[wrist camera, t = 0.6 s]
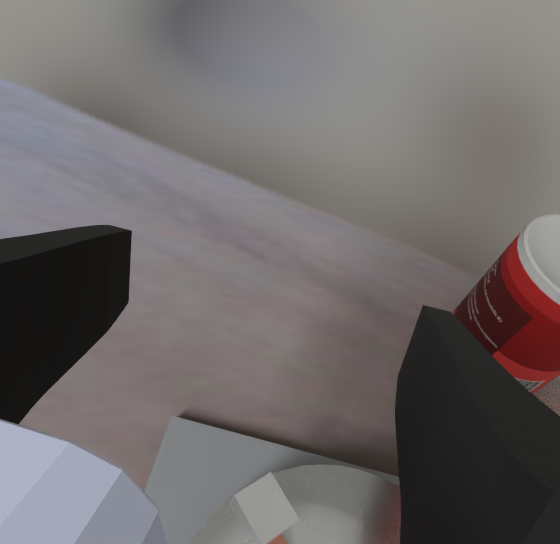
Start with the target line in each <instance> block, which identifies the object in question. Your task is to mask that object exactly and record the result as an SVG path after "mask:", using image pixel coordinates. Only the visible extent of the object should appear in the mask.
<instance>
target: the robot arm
mask: <svg viewBox="0 0 560 544" xmlns="http://www.w3.org/2000/svg"><path fill="white" fill-rule="evenodd" d="M131 234H132V231H130V230H126V229H123V228H119V227H115V226H111V225H94V226H85V227H78V228H71V229H65V230H58V231H52V232H46V233H40V234H34V235H27V236H20V237H12V238H5V239H0V544H166V539H165V535H164V531H163V527H162V523H161V519H160V515H159V511H158V509H157V507H156V505H155V503H154V502H153V501H152V500H151V499H150V498H149V496H148V495H147V494H146V493H145V492H144V491H143V490H142V489H141V487H140V486H139V485H138V484H137V483H136V482H135V481H134V480H133V478H132V477H131V476H130V475H129V474H128V473H127V472H126V471H125V469H124V468H123V467H121V466H119V465H118V464H116V463H114V462H112V461H110V460H108V459H106V458H104V457H102V456H101V455H99V454H97V453H95V452H93V451H91V450H89V449H87V448H85V447H83V446H82V445H80V444H78V443H75V442H72V441H69V440H66V439H63V438H59V437H56V436H53V435H50V434H47V433H44V432H40V431H37V430H34V429H31V428H28V427H24V426H21V425H18V424H19V423H20V422H21V420H22V419H23V418H24V417H25V416H26V414H27V413H28V412H29V411H30V409H31V408H32V407H33V406H34V405H35V404H36V402H37V401H38V400H39V399H40V398H41V397H42V396H43V395H44V394H45V393H46V392H47V391H48V390H49V389H50V388H51V387H52V386H53V385H54V384H55V383H56V382H57V381H58V380H59V379H60V378H61V377H62V376H63V375H64V374H65V373H66V372H67V371H68V370H69V369H70V368H71V367H72V366H73V365H74V364H75V363H76V362H77V361H78V360H79V359H80V358H81V357H82V356H83V355H84V354H85V353H86V352H87V351H88V350H89V349H90V348H91V347H92V346H93V345H94V344H95V343H96V342H97V341H98V340H99V339H100V338H101V337H102V336H103V335H104V334H105V333H106V332H107V331H108V330H109V329H110V327H111V326H112V325H113V323H114V322H115V321H116V319H117V318H118V317H119V315H120V314H121V312H122V311H123V309H124V308H125V307H126V305H127V304H128V300H129V278H130V256H131ZM395 422H396V438H397V454H398V468H399V483H400V499H401V526H400V544H560V416H559V415H558V414H556V413H555V412H554V411H552V410H551V409H550V408H549V407H547V406H546V405H545V404H544V403H542V402H541V401H540V400H539V399H538V398H536V397H535V396H534V395H533V394H532V393H531V392H529V391H528V390H527V389H526V388H525V387H524V386H523V385H522V384H521V383H520V382H519V381H517V380H516V379H515V378H514V377H513V376H512V375H511V374H510V373H509V372H508V371H507V370H506V369H505V368H504V367H503V366H502V365H501V364H500V363H499V362H498V361H497V360H496V359H495V358H494V357H493V356H492V355H491V354H490V353H489V352H488V351H487V350H486V349H485V348H484V347H483V346H482V344H481V343H480V342H479V341H478V340H477V339H476V338H475V337H474V336H473V335H472V334H471V333H470V331H469V330H468V329H467V328H466V327H465V326H464V325H463V324H462V323H461V322H460V321H459V320H458V319H457V318H456V317H455V316H454V315H453V314H452V313H451V312H448V311H444V310H440V309H436V308H433V307H429V306H425V305H423V307H422V310H421V312H420V315H419V318H418V321H417V324H416V327H415V329H414V332H413V335H412V338H411V341H410V344H409V346H408V349H407V352H406V355H405V358H404V361H403V363H402V366H401V369H400V372H399V375H398V381H397V392H396V405H395Z"/></svg>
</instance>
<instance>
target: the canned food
mask: <svg viewBox="0 0 560 544" xmlns="http://www.w3.org/2000/svg"><path fill="white" fill-rule="evenodd" d="M452 314H453V315H454V316H455V317H456V318H457V319H458V320H459V321H460V322H461V323H462V324H463V325H464V326H465V327H466V328H467V329H468V330H469V331H470V333H471V334H472V335H473V336H474V337H475V338H476V339H477V340H478V341H479V342H480V343H481V344H482V346H483V347H484V348H485V349H486V350H487V351H488V352H489V353H490V354H491V355H492V356H493V357H494V358H495V359H496V360H497V361H498V362H499V363H500V364H501V365H502V366H503V367H504V368H505V369H506V370H507V371H508V372H509V373H510V374H511V375H512V376H513V377H514V378H515V379H516V380H517V381H519V382H520V383H521V384H522V385H523V386H524V387H525V388H526V389H527V390H528V391H529V392H531V393H533V392H535V391H537V390H538V389H540V388H541V387H543V386H544V385H545V384H547V383H548V382H550V381H551V380H553V379H554V378H556V377H557V376H558V375H560V214H551V215H545V216H541V217H538V218H536V219H535V220H533V221H532V222H531V223H530V224H529V225H528V226H526V227H525V228H524V229H523V230H522V232H521V233H520V234H519V235H518V236H517V237H516V238H515V239H514V241H513V242H512V243H511V244H510V245H509V246H508V247H507V249H506V250H505V251H504V252H503V253H502V255H501V256H500V257H499V258H498V259H497V261H496V262H495V263H494V264H493V266H492V267H491V268H490V269H489V270H488V271H487V273H486V274H485V275H484V276H483V277H482V278H481V280H480V281H479V282H478V283H477V284H476V286H475V287H474V288H473V289H472V290H471V291H470V293H469V294H468V295H467V296H466V297H465V299H464V300H463V301H462V302H461V303H460V305H459V306H458V307H457V308H456V309H455V311H454V312H453V313H452Z"/></svg>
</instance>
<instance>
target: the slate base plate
mask: <svg viewBox="0 0 560 544" xmlns="http://www.w3.org/2000/svg"><path fill="white" fill-rule="evenodd" d="M318 464H323V465H340V466H345V467H350V468H355V469H359V470H362V471H365V472H368V473H371V474H374V475H377V476H379V477H381V478H383V479H385V480H388V481H390V482H392V483H394V484H396V485H397V486H399V487H400V483H399V477H398V476H395V475H391V474H387V473H383V472H380V471H376V470H372V469H369V468H365V467H361V466H357V465H354V464H350V463H346V462H343V461H339V460H335V459H331V458H328V457H324V456H320V455H317V454H313V453H309V452H305V451H302V450H298V449H294V448H290V447H287V446H283V445H279V444H276V443H272V442H268V441H264V440H261V439H257V438H253V437H250V436H246V435H242V434H238V433H235V432H231V431H227V430H224V429H220V428H216V427H212V426H209V425H205V424H201V423H198V422H194V421H190V420H186V419H183V418H179V417H175V416H172V415H171V418H170V420H169V423H168V426H167V429H166V432H165V434H164V437H163V440H162V443H161V445H160V448H159V451H158V454H157V457H156V459H155V462H154V465H153V468H152V471H151V473H150V476H149V479H148V482H147V485H146V487H145V490H144V492H145V493H146V494H147V495H148V496H149V498H150V499H151V500H152V501H153V502H154V503H155V505H156V507H157V509H158V511H159V515H160V519H161V523H162V527H163V531H164V535H165V539H166V544H190V542H191V541H192V539H193V538H194V536H195V535H196V534H197V532H198V531H199V530H200V529H201V527H202V526H203V525H204V524H205V523H206V521H207V520H208V519H209V518H210V516H211V515H213V514H214V513H215V512H216V511H217V510H218V509H219V508H220V507H221V506H222V505H223V504H224V503H225V502H226V501H227V500H228V499H230V498H231V497H232V496H234V495H235V494H237V493H238V492H239V491H241V490H242V489H243V488H245V487H246V486H248V485H250V484H252V483H254V482H256V481H257V480H259V479H260V478H262V477H263V476H265V475H266V474H268V473H270V472H271V473H272V474H273V473H276V472H278V471H281V470H285V469H290V468H294V467H298V466H306V465H318Z"/></svg>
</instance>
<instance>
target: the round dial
mask: <svg viewBox="0 0 560 544" xmlns="http://www.w3.org/2000/svg"><path fill="white" fill-rule="evenodd" d="M400 526H401V499H400V487H399V486H397V485H396V484H394V483H392V482H390V481H388V480H385V479H383V478H381V477H379V476H377V475H374V474H371V473H368V472H365V471H362V470H359V469H355V468H350V467H345V466H340V465H323V464H318V465H306V466H298V467H294V468H290V469H285V470H281V471H278V472H276V473H273V474H272V473H271V472H270V473H268V474H266V475H265V476H263V477H262V478H260V479H259V480H257V481H256V482H254V483H252V484H250V485H248V486H246V487H245V488H243V489H242V490H241V491H239V492H238V493H237V494H235V495H234V496H232V497H231V498H230V499H228V500H227V501H226V502H225V503H224V504H223V505H222V506H221V507H220V508H219V509H218V510H217V511H216V512H215V513H214V514H213V515H211V516H210V518H209V519H208V520H207V521H206V523H205V524H204V525H203V526H202V527H201V529H200V530H199V531H198V532H197V534H196V535H195V536H194V538H193V539H192V541H191V542H190V544H400Z"/></svg>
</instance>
